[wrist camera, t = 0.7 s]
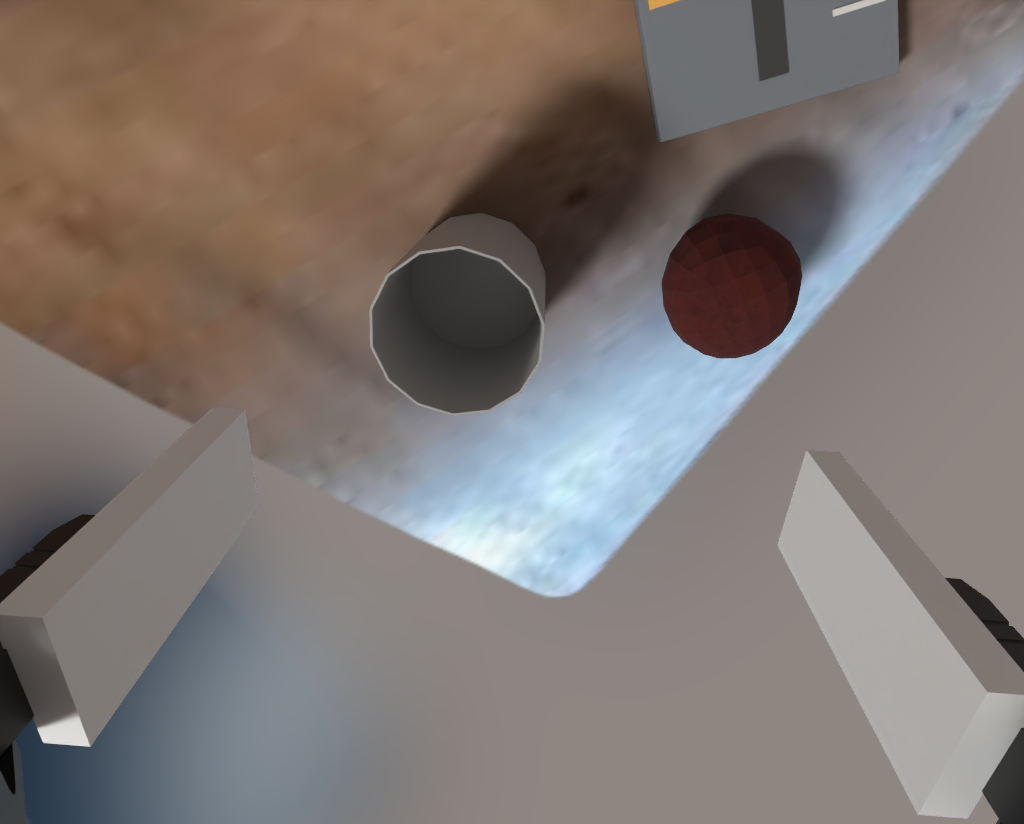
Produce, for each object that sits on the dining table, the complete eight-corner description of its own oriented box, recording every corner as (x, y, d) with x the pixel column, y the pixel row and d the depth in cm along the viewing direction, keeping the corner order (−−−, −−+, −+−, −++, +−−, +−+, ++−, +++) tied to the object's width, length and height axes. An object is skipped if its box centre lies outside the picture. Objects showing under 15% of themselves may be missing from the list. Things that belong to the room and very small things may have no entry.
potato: (675, 350, 40) (699, 395, 34) (634, 235, 37) (652, 261, 31) (792, 305, 38) (840, 344, 32) (758, 182, 35) (805, 198, 29)
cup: (536, 204, 36) (533, 235, 28) (553, 338, 40) (555, 404, 31) (396, 225, 37) (348, 261, 28) (424, 354, 41) (389, 422, 32)
